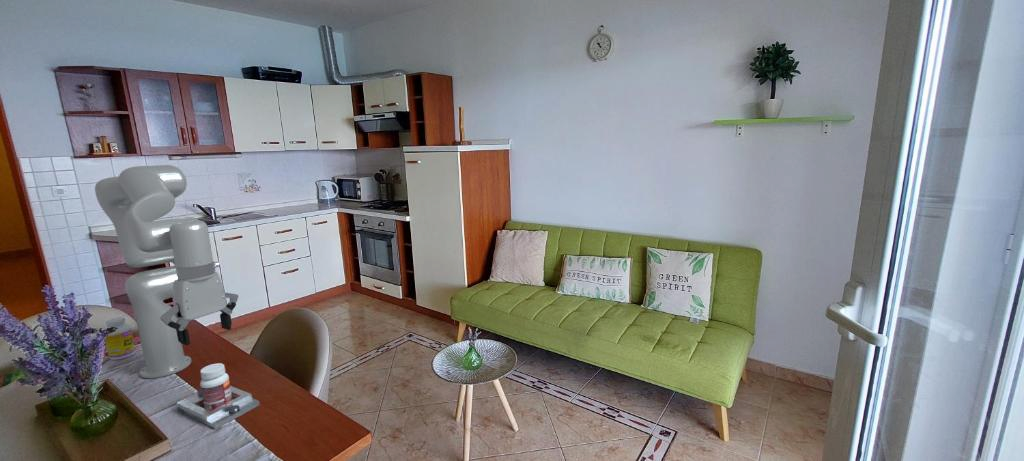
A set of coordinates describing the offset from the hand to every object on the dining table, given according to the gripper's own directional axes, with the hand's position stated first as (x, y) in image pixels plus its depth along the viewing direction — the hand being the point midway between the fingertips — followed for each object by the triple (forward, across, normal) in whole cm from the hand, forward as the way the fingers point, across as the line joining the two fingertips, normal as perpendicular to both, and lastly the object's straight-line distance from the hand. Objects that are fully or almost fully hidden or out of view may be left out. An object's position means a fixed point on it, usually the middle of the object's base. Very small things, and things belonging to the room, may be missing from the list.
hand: (206, 336), depth 109 cm
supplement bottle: (+21, -3, -62) cm, 65 cm away
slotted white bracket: (+20, 0, 0) cm, 20 cm away
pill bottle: (+20, 0, 0) cm, 20 cm away
